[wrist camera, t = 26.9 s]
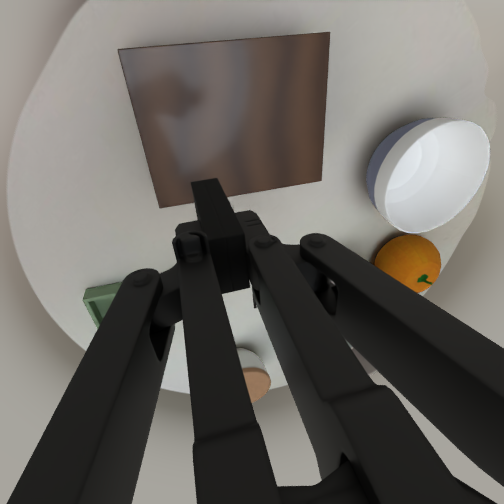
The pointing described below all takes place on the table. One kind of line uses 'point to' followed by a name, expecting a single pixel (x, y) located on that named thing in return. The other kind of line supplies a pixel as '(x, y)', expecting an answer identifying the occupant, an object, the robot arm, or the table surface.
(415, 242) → the fruit
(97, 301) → the tray
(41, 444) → the robot arm
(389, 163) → the bowl
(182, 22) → the table surface
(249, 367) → the trinket box
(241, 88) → the lid
